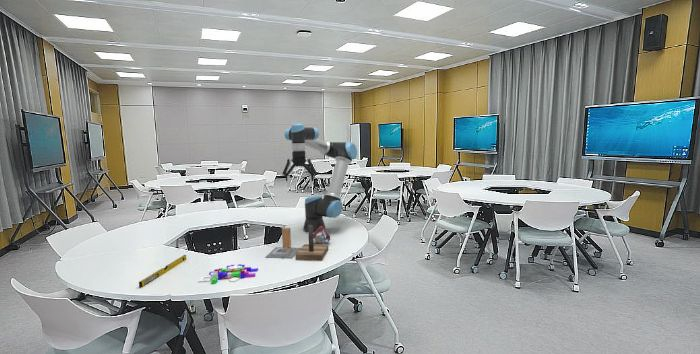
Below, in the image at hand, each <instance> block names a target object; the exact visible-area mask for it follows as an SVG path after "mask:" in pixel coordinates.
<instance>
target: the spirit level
mask: <svg viewBox="0 0 700 354" xmlns="http://www.w3.org/2000/svg"><path fill="white" fill-rule="evenodd" d="M186 261H187V254H183V255H182V256H180V257H179V258H177V259H175V260H173V261H172V262H170V263H168V264H167V265H165V267H164V268H160V269H158V270H156V271H155V272H152V273H151V274H150V275H148V276H146V278H144V279H141V280H140V281H138V286H139V287H142V288H145V285H146V286H147V285H148V284H151V283H152V282H153V281H155V280H157V279H159V278H160V277H161V276H163V275H165V274H166V273H168V272H170V271H172V269H174V268H175V267H177V266H179V265H181V264H182V263H184V262H186Z"/></svg>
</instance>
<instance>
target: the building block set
mask: <svg viewBox="0 0 700 354" xmlns="http://www.w3.org/2000/svg"><path fill="white" fill-rule="evenodd" d="M245 265H246V264H241V263H240V264H239V263H238V264H236V265H235V264H231V265H226V268H221V267H220V268H219V267H218V268H216V269H214V270H213V271H209V273H208V275H205V276H203V275H202V276H200V277H199V279H198V280H197V283H208V282H211V285H216V284H217V282H218V281H219V280H228V281H229V282H230V283H236V282H238V281H240V280H241V279H245V278H255V277H256V272H258V270H259V268H258V267H256V268H252V267H251V266H245Z"/></svg>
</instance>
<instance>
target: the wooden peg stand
mask: <svg viewBox="0 0 700 354" xmlns="http://www.w3.org/2000/svg"><path fill="white" fill-rule="evenodd" d="M307 234H308V243H304V244H303V245H302V246H301V247H300V248H301V249H300V250H299V251H298V252H297V253H296V254H295V256H294V257H295V261H310V262H311V261H313V262H314V261H317V262H318V261H320V262H321V261H323V260H324V258H325V257H326V255H327V254H328V251H329V244H327V245H321V244H313V234H314V233H313V225H308V232H307Z"/></svg>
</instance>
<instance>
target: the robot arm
mask: <svg viewBox="0 0 700 354" xmlns="http://www.w3.org/2000/svg"><path fill="white" fill-rule="evenodd" d="M319 136H320V131H319V129H318V128H317V127H307V126H306V127H305V124H304V123H292V125H291V126H290V128H286V129H285V131H284V138H285V139H286V140H287V141H291V150H292V152H291V153H292V155H291V156H292V159H290V158H287V160H286V164H285V167H284V169H283V171H282V176H285V181H286V182H287V188H289V187H291V175H290V174H291V172H292V171H293V170H294V168H296V167H303V168H304V169H305V170H306V171H307V172H308V174H310V175H309V187H310V188H312V187H313V184H314V183H313V182H314V181H315V175H317V174H318V172H317V170H316V169H315V166H314V164H313V163H312V159H311V158H306V151H305V150H306V147H308V148H311V149H313V150H316V151H318V152H319V153H320V154H322V155H324V156H327V157H329V158H331V159H334V160H335V161H336V162H335V164H334V168H333V172H332V176H331V180H330V182H329V186H328V190H327V192H326V193H325V194H324V196H323V197H322V195H314V196H313V195H312V196H309V197H306V198H305V199H304V213H305V214H304V215H305V219H304V224H303V227H302V228H303V232H306V233H308V225H313V234H314V232H315V231H316V230H317V229H318V228H319V227H320V226H322V227H323V228H324V229H325V230H326V225H325V222H324V218H323V217H325V218H330V219H331V218H333V219H335V218H337V217H339V216H340V215H341V213H342V212H343V203H342V199H341V197H340V196H341V193H342V190H343V185H344V182H345V179H346V178H345V177H346V175H347V171H348V168H349V165H350V164H352V163H353V162H352V161H353V160H355V159H356V158H357V156H358V148H357V146H356V144H355V143H354V142H351V141H347V142H346V141H345V142H344V141H343V142H342V141H341V142H340V141H339V142H338V141H337V142H336V141H335V142H334V141H333V142H332V141H327V140H322V139H320V138H319ZM291 163H292V165H291ZM306 163H308V165H307V164H306ZM290 165H291V166H290ZM289 166H290V168H289ZM319 231H320V230H319Z"/></svg>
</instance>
